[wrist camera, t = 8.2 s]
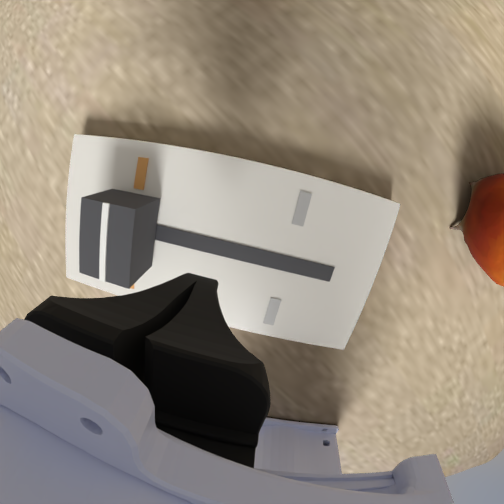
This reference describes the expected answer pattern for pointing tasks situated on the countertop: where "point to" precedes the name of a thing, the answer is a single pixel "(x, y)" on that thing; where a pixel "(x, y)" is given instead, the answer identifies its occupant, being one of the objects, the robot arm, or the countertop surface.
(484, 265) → the fruit
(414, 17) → the countertop surface
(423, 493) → the robot arm
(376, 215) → the fader console
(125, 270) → the fader knob
